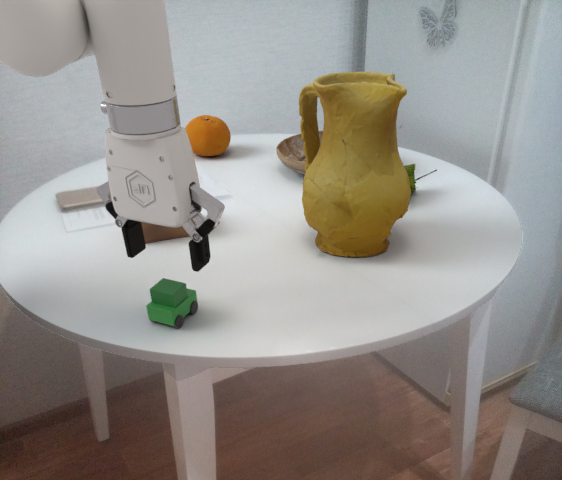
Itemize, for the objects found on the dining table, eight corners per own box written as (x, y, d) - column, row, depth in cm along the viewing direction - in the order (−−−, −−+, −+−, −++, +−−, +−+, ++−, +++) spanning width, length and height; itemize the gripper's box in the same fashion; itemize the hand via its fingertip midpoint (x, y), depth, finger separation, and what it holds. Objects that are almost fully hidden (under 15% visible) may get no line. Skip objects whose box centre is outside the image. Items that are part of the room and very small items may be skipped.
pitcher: (319, 270, 85) (328, 88, 70) (286, 227, 100) (288, 68, 85) (421, 258, 89) (450, 83, 74) (375, 218, 103) (391, 64, 89)
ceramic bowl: (302, 146, 133) (302, 124, 130) (398, 159, 125) (401, 136, 122) (258, 179, 117) (257, 154, 113) (366, 196, 109) (368, 170, 106)
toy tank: (361, 174, 103) (407, 176, 96) (416, 150, 113) (462, 150, 107) (364, 213, 106) (409, 216, 100) (417, 186, 117) (462, 188, 110)
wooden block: (138, 244, 94) (133, 216, 90) (131, 225, 99) (125, 198, 96) (196, 234, 96) (193, 206, 93) (186, 217, 102) (182, 190, 99)
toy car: (176, 331, 74) (171, 299, 70) (148, 324, 75) (142, 292, 72) (199, 309, 78) (195, 277, 75) (173, 302, 79) (168, 271, 76)
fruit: (209, 164, 124) (206, 126, 119) (176, 155, 129) (172, 118, 124) (240, 152, 130) (238, 115, 125) (208, 144, 135) (205, 108, 130)
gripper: (57, 118, 60) (95, 260, 71) (194, 133, 55) (212, 286, 65) (102, 101, 66) (130, 236, 76) (231, 114, 60) (242, 258, 71)
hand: (168, 259), depth 71 cm, fingers open, 9 cm apart
